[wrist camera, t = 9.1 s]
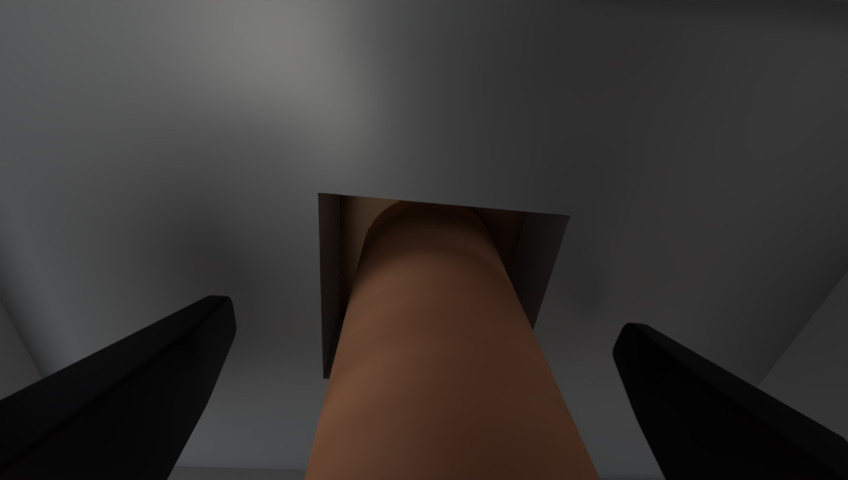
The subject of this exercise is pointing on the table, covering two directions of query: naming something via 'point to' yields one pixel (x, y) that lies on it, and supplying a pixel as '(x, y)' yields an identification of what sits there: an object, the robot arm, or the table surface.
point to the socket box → (427, 188)
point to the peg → (440, 365)
